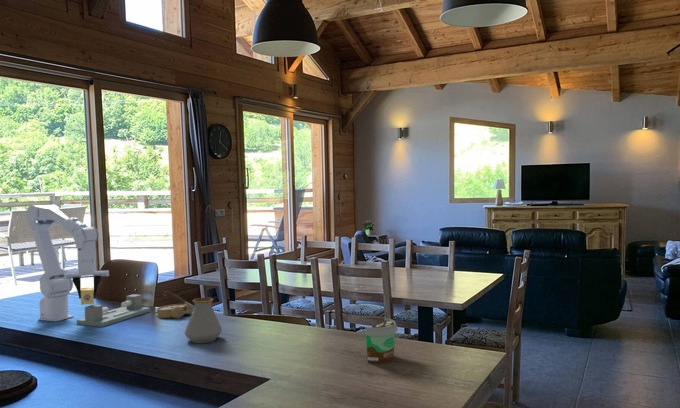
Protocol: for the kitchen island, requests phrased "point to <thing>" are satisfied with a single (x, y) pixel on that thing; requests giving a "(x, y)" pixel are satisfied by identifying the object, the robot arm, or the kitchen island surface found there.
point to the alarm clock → (173, 311)
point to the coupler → (87, 296)
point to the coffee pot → (201, 320)
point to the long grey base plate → (113, 312)
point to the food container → (381, 341)
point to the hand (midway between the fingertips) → (87, 297)
